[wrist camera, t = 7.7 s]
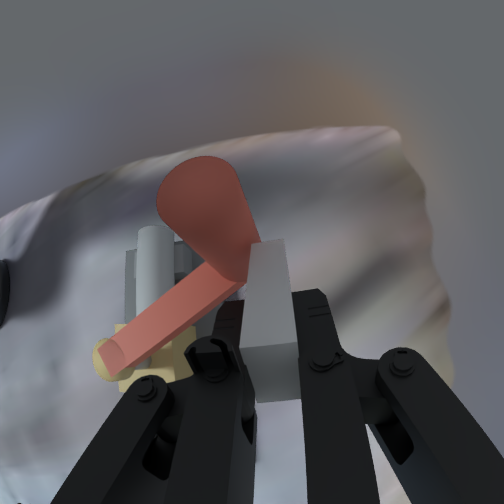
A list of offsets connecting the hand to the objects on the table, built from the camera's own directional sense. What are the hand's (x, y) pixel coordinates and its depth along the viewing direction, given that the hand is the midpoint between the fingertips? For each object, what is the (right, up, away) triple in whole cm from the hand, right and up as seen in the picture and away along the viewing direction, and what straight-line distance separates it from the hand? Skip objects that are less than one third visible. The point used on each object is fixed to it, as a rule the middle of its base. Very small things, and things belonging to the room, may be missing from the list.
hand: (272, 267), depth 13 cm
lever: (-6, -4, +5) cm, 9 cm away
